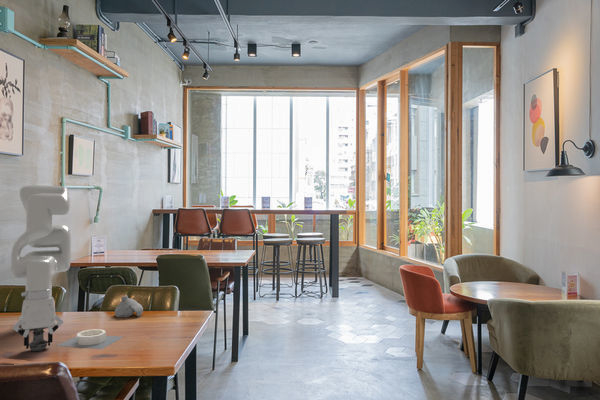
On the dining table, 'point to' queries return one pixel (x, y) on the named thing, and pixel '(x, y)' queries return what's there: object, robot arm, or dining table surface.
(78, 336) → the white round dish
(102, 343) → the board
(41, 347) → the dark grey chess piece
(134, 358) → the dining table surface
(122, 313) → the grey clay mound
